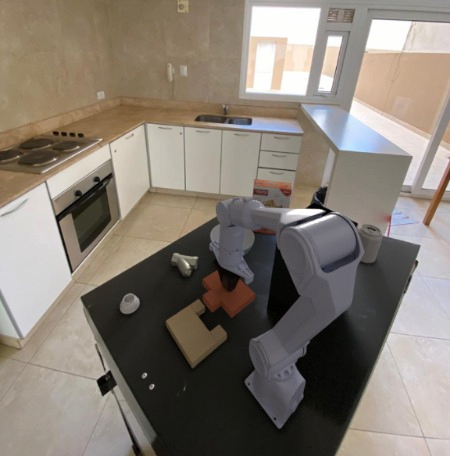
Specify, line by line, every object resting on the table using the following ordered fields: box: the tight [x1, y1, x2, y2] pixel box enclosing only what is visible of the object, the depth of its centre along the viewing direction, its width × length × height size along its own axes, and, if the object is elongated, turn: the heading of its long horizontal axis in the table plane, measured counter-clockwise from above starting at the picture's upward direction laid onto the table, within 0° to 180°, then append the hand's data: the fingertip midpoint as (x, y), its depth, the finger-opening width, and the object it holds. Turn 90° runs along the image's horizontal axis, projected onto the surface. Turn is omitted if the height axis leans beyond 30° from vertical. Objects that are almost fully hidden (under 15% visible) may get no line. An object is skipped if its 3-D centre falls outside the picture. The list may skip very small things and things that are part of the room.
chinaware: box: [209, 223, 255, 258], centre depth 87 cm, size 15×15×8 cm
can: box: [357, 223, 384, 264], centre depth 87 cm, size 8×8×12 cm
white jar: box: [119, 293, 141, 315], centre depth 68 cm, size 5×3×5 cm
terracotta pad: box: [202, 270, 256, 319], centre depth 65 cm, size 12×11×6 cm
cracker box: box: [251, 178, 293, 236], centre depth 98 cm, size 14×6×21 cm, turn 81°
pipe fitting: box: [170, 252, 199, 278], centre depth 80 cm, size 8×4×7 cm
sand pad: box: [165, 298, 228, 369], centre depth 62 cm, size 12×10×2 cm
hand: (228, 285), depth 66 cm, fingers closed on terracotta pad, 2 cm apart
